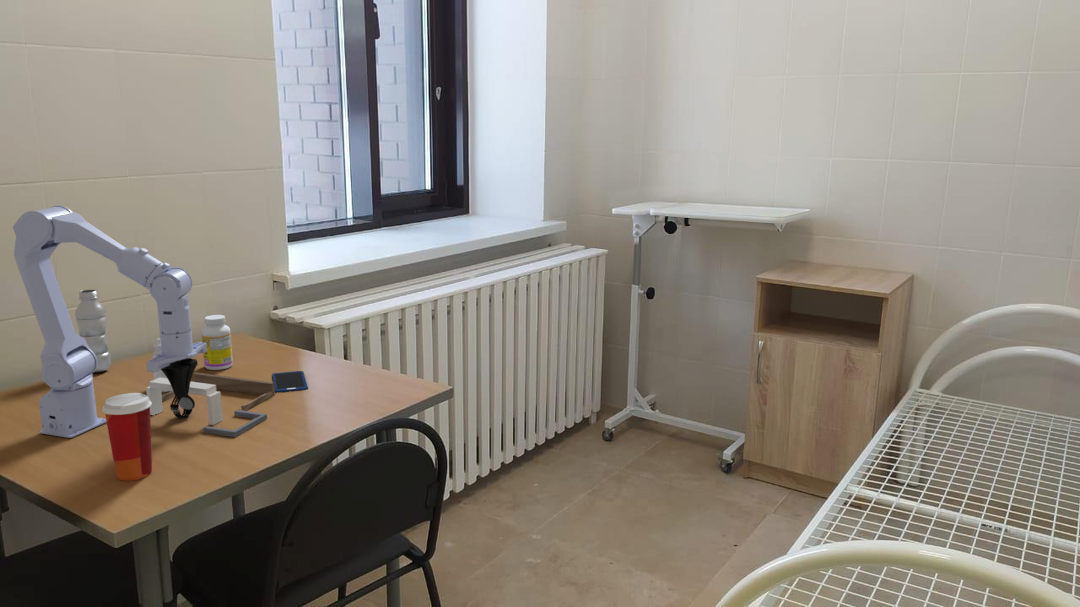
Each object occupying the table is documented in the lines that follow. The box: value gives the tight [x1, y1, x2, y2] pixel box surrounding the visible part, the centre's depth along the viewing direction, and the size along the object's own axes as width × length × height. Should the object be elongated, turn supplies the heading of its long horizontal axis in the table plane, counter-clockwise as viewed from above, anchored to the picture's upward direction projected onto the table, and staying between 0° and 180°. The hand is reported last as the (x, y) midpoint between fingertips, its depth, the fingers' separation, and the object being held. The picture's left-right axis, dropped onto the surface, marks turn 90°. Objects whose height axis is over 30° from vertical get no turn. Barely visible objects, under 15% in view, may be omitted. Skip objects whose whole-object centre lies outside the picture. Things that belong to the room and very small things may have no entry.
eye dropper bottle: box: [151, 337, 169, 393], centre depth 186 cm, size 4×6×12 cm
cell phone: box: [271, 370, 309, 394], centre depth 194 cm, size 7×14×1 cm, turn 21°
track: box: [162, 372, 276, 411], centre depth 178 cm, size 21×21×3 cm
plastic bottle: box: [74, 289, 112, 373], centre depth 197 cm, size 6×7×20 cm
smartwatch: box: [169, 394, 196, 419], centre depth 170 cm, size 4×5×5 cm
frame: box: [202, 409, 268, 438], centre depth 167 cm, size 10×7×1 cm
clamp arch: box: [145, 378, 224, 426], centre depth 170 cm, size 3×16×8 cm, turn 73°
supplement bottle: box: [201, 314, 234, 371], centre depth 203 cm, size 7×7×13 cm
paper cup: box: [101, 392, 153, 482], centre depth 143 cm, size 8×8×14 cm
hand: (181, 396), depth 164 cm, fingers closed
